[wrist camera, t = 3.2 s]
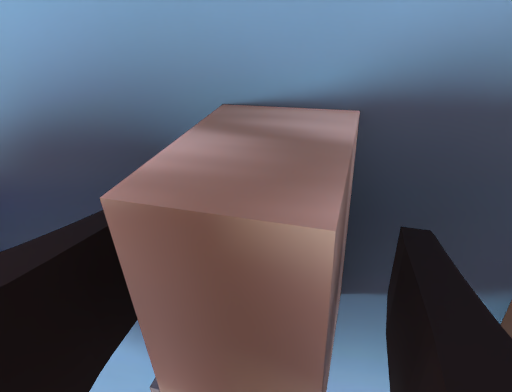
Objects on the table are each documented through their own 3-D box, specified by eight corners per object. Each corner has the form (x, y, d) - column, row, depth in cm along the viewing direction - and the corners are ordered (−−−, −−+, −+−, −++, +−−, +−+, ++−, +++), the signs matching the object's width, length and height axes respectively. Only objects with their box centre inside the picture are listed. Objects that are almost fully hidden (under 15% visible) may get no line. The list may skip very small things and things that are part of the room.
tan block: (239, 273, 12) (168, 415, 8) (223, 103, 9) (99, 197, 5) (340, 292, 11) (315, 464, 7) (360, 109, 8) (335, 230, 4)
